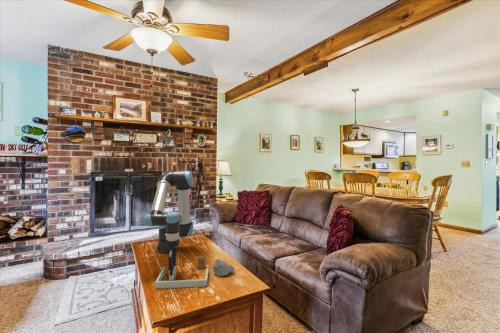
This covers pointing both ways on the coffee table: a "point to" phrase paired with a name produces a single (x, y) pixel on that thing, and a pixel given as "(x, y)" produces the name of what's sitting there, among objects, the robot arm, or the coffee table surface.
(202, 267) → the walnut block
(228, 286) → the coffee table surface
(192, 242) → the coffee table surface
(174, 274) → the metal cylinder
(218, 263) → the decorative stone
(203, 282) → the bay
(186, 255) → the coffee table surface
